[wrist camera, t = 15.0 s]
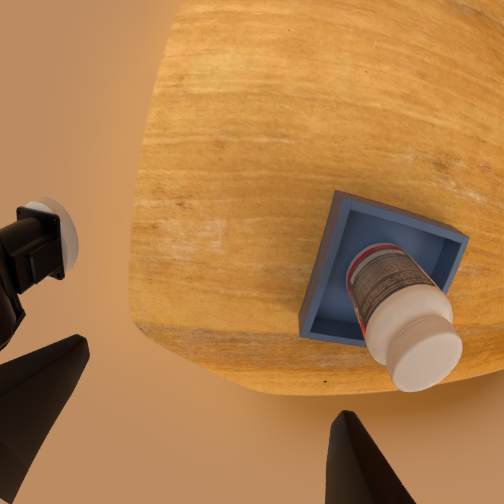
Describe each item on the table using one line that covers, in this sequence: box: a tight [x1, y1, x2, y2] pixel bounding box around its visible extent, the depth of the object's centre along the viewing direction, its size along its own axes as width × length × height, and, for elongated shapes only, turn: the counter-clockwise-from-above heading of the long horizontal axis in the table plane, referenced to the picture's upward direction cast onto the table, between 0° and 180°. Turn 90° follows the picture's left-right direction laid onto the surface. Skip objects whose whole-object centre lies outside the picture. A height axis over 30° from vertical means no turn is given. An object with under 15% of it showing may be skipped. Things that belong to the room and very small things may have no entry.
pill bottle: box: [346, 243, 462, 392], centre depth 15 cm, size 5×5×10 cm
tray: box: [298, 190, 469, 347], centre depth 19 cm, size 10×10×3 cm
